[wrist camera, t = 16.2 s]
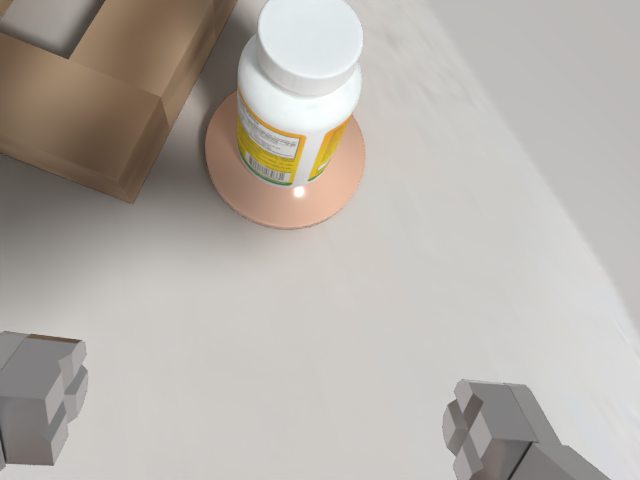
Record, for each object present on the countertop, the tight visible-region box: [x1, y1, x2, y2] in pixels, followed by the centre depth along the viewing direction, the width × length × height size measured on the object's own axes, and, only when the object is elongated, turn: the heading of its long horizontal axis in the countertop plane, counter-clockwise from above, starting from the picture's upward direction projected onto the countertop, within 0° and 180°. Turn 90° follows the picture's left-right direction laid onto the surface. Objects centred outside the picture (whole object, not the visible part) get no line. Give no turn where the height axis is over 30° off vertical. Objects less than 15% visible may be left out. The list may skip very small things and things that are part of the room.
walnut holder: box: [0, 0, 237, 204], centre depth 26 cm, size 16×16×4 cm
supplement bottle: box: [237, 0, 363, 188], centre depth 22 cm, size 5×5×10 cm
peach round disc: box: [205, 90, 365, 230], centre depth 27 cm, size 9×9×1 cm
